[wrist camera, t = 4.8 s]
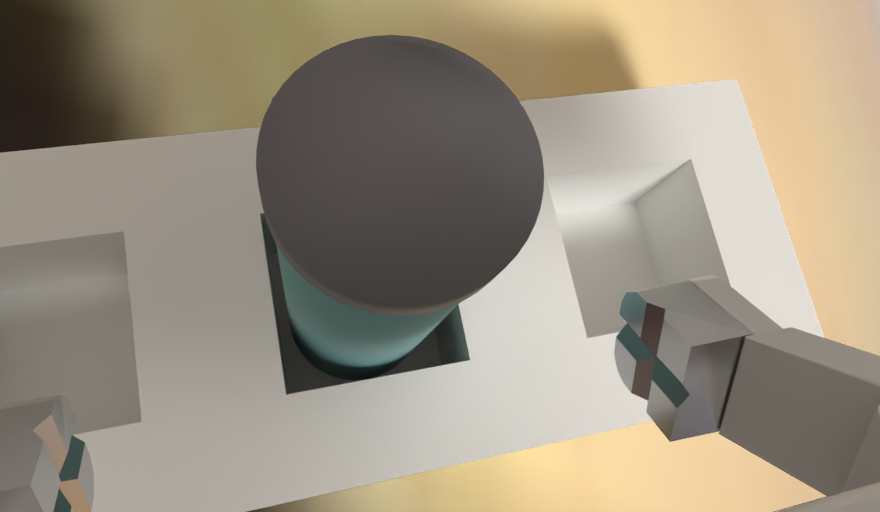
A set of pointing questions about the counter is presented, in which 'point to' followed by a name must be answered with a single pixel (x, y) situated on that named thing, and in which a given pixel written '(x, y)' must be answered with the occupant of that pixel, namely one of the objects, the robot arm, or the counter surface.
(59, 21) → the counter surface
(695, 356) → the robot arm
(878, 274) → the counter surface
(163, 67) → the counter surface
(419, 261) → the tumbler
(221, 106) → the counter surface
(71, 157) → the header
